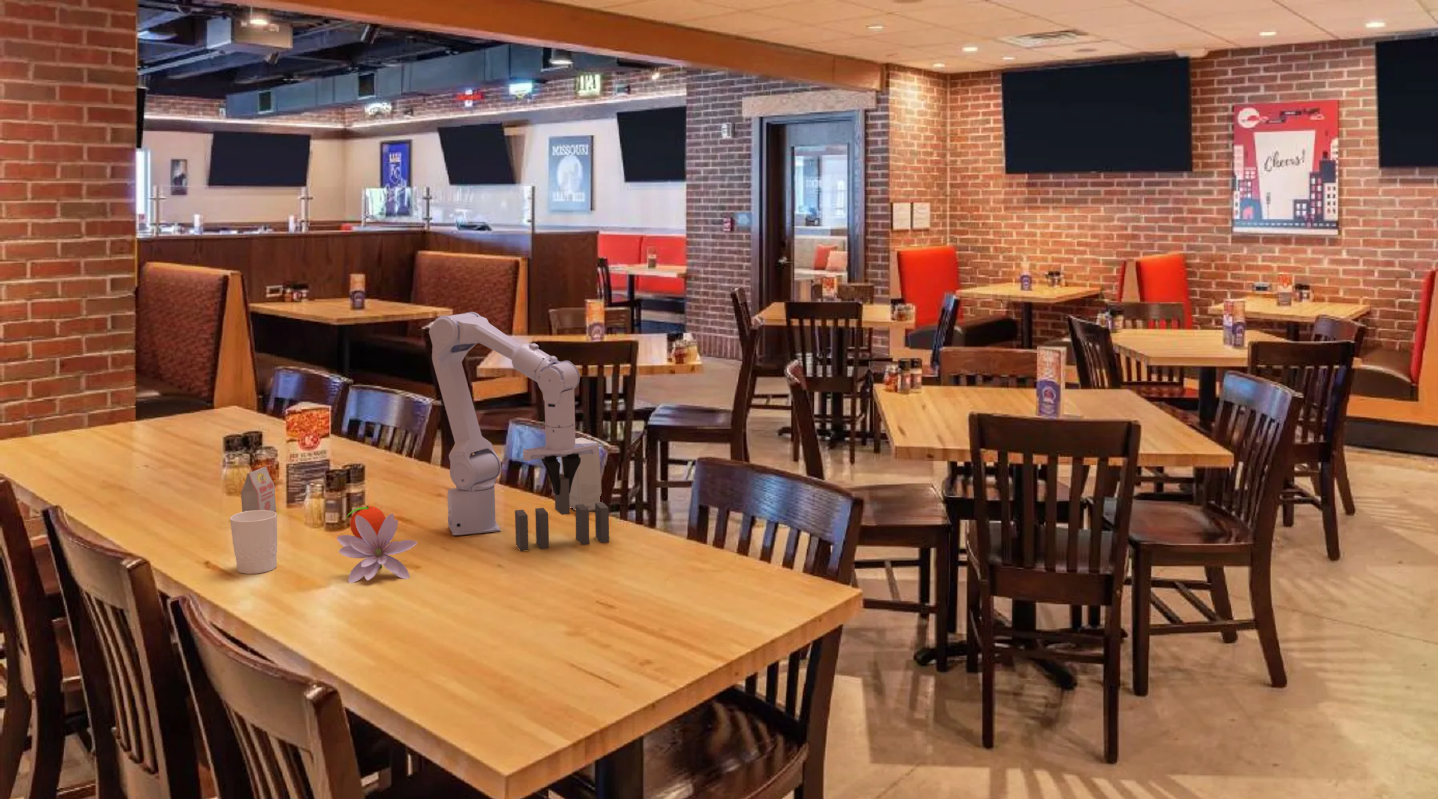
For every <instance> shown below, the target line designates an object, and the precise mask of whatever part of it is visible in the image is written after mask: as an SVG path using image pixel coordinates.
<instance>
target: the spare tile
mask: <svg viewBox="0 0 1438 799" xmlns="http://www.w3.org/2000/svg"><path fill="white" fill-rule="evenodd" d="M559 483H560V494H559V495H556V494H554V509H555V511H557V512H558V513H559V514H560V515H561V516H562V515H563V516H564V515H570V513H571V512H570V509H571V508H570V507H569V479H568V478H567V477H566V476H564V475H563V474H562V473H559Z"/></svg>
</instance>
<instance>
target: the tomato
mask: <svg viewBox="0 0 1438 799" xmlns="http://www.w3.org/2000/svg"><path fill="white" fill-rule="evenodd" d="M352 513H353V514H352ZM350 515H352V516H351V517H350V522H349V527H350V531H351V533H352V536H355V537H358V538H360V539H362V540H363V538H362V537H361V535H360V534H359V532H358V530H357V527H356V523H355V518H356V515H358V516H361V517H363V518H364V519H366V520H367V521H368V523H369V524H370V525H371V527H372V528H373V530H374V531H375V533H376V535H377V536H378V532H379V530H380V528H381V526H382V523H383V522H384V520H385V519H386V516H385V514H384V513H383V511H382V510H381V509H379V508H377V507H376V506H371V505H366V506H361V507H357V508H355V509H353V510H351V511H350V512H349V513H347V515H346V516H345V519H344V521H346V519H347V517H349V516H350Z"/></svg>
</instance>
